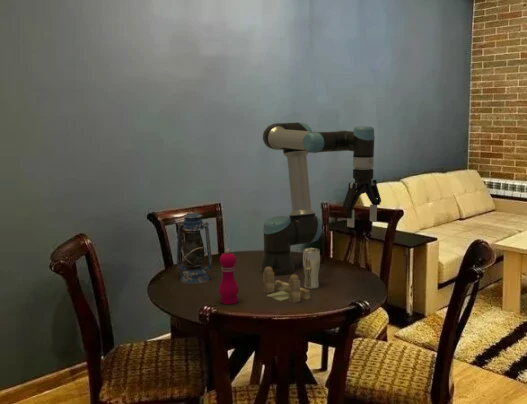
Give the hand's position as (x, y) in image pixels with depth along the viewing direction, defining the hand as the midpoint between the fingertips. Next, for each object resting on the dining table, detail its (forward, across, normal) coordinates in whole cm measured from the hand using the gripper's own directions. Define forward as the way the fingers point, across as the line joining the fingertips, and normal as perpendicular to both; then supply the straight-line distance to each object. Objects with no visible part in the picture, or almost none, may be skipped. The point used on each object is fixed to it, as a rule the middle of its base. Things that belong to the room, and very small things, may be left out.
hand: (362, 224), depth 208 cm
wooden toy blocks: (+27, -25, +17) cm, 40 cm away
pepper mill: (+27, -44, +27) cm, 58 cm away
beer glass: (+27, -9, +18) cm, 33 cm away
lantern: (+27, -37, +59) cm, 74 cm away
